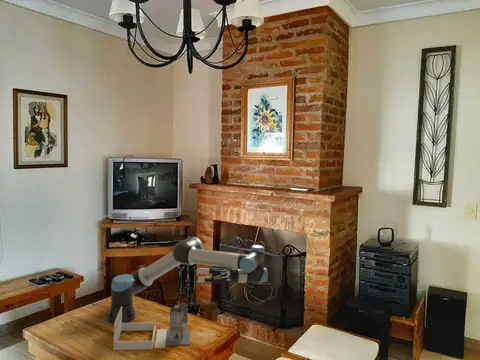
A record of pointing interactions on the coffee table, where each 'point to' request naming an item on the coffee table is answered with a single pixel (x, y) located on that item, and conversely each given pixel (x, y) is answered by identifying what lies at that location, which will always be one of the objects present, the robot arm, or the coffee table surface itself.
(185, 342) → the mat
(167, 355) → the coffee table surface
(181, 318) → the coffee box
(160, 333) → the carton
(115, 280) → the robot arm
